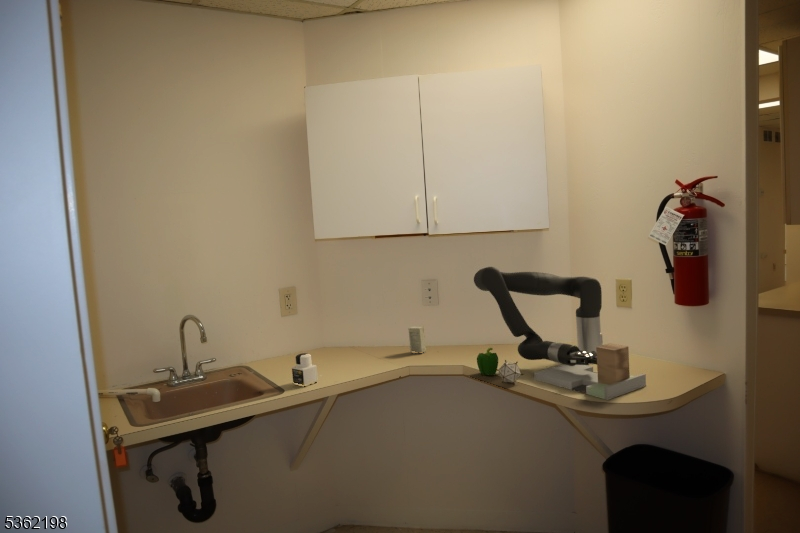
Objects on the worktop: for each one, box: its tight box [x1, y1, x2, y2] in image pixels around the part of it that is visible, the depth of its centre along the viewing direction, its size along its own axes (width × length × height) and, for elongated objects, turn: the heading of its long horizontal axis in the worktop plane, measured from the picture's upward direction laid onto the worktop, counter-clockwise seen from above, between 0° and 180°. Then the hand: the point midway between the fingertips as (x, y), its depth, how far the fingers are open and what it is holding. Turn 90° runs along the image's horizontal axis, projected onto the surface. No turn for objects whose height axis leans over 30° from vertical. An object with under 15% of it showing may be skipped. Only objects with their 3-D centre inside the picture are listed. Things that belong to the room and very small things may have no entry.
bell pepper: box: [476, 347, 499, 376], centre depth 199 cm, size 8×8×10 cm
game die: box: [496, 359, 524, 386], centre depth 186 cm, size 9×8×10 cm
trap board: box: [533, 364, 647, 401], centre depth 180 cm, size 20×31×4 cm, turn 31°
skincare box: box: [407, 326, 427, 352], centre depth 241 cm, size 6×4×12 cm
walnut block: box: [596, 342, 631, 385], centre depth 170 cm, size 7×7×12 cm
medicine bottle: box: [291, 352, 319, 385], centre depth 204 cm, size 7×7×12 cm
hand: (604, 362), depth 173 cm, fingers closed
